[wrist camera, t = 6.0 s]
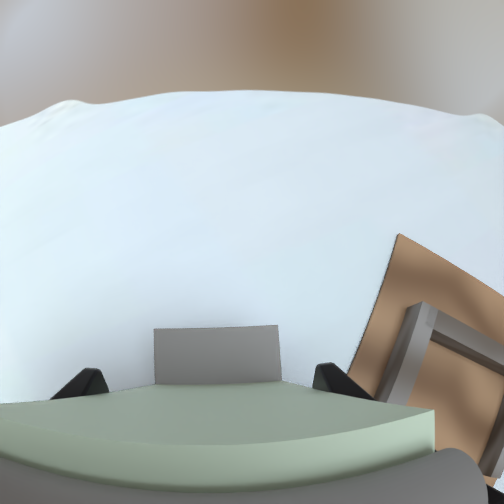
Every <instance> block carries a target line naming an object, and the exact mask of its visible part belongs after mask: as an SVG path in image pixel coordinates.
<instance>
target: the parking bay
mask: <svg viewBox="0 0 504 504" xmlns="http://www.w3.org/2000/svg"><path fill="white" fill-rule="evenodd" d="M347 375H348V376H349V377H350V378H351V379H352V380H354V381H355V382H356V383H357V384H358V385H359V386H360V387H362V388H363V389H364V390H365V391H366V392H367V393H369V394H370V395H371V396H372V397H373V398H374V399H376V400H377V401H378V402H384V403H390V404H396V405H403V406H409V407H417V408H424V409H432V410H434V413H435V450H437V451H439V450H442V449H445V448H456V449H459V450H461V451H463V452H465V453H466V454H468V455H469V456H470V457H471V458H472V459H473V460H474V461H475V463H476V464H477V465H478V467H479V469H480V470H481V472H482V474H483V477H484V479H485V482H486V484H488V485H489V486H491V487H493V486H494V484H495V482H496V480H497V478H500V477H501V475H502V472H503V470H504V296H502V295H501V294H499V293H498V292H496V291H495V290H493V289H492V288H490V287H489V286H487V285H485V284H484V283H482V282H481V281H479V280H478V279H476V278H475V277H473V276H471V275H470V274H468V273H467V272H465V271H463V270H462V269H460V268H458V267H457V266H455V265H454V264H452V263H450V262H449V261H447V260H445V259H444V258H442V257H440V256H439V255H437V254H435V253H433V252H432V251H430V250H428V249H427V248H425V247H423V246H421V245H420V244H418V243H416V242H414V241H413V240H411V239H409V238H407V237H405V236H404V235H402V234H400V233H399V234H398V236H397V239H396V243H395V246H394V249H393V253H392V256H391V259H390V262H389V265H388V268H387V271H386V275H385V278H384V281H383V284H382V286H381V289H380V292H379V295H378V298H377V301H376V304H375V306H374V309H373V312H372V314H371V317H370V320H369V322H368V325H367V328H366V330H365V333H364V335H363V338H362V340H361V343H360V345H359V348H358V350H357V352H356V355H355V357H354V360H353V362H352V364H351V367H350V369H349V371H348V373H347Z"/></svg>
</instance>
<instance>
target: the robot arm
mask: <svg viewBox="0 0 504 504" xmlns="http://www.w3.org/2000/svg"><path fill="white" fill-rule="evenodd" d="M313 389H317V390H321V391H326V392H331V393H336V394H341V395H346V396H351V397H356V398H361V399H367V400H372V401H377V400H376V399H374V398H373V397H372V396H371V395H370V394H369V393H367V392H366V391H365V390H364V389H363V388H362V387H360V386H359V385H358V384H357V383H356V382H355V381H354V380H352V379H351V378H350V377H349V376H348V375H347V374H345V373H344V372H343V371H342V370H341V369H340V368H339V367H337V366H336V365H335V364H334V363H331V362H330V363H321V364H318V365H317V366H316V369H315V375H314V380H313ZM103 393H109V389H108V387H107V384H106V382H105V379H104V377H103V375H102V372H101V371H100V370H99V369H97V368H85V369H83V370H82V371H81V372H80V373H79V374H77V375H76V376H75V377H74V378H73V379H72V380H71V381H70V382H69V383H67V384H66V385H65V386H64V387H63V388H62V389H61V390H60V391H59V392H57V393H56V394H55V395H54V396H53V397H52V398H51V399H50V400H55V399H64V398H72V397H80V396H89V395H96V394H103ZM435 452H437V450H435ZM486 486H487V492H488V504H504V493H502V492H500V491H498V490H496V489H495V488H493V487H491V486H489V485H488V484H486Z"/></svg>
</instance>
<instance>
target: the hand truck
mask: <svg viewBox="0 0 504 504" xmlns="http://www.w3.org/2000/svg"><path fill="white" fill-rule="evenodd" d="M154 365H155V384H154V385H149V386H144V387H138V388H133V389H127V390H121V391H115V392H109V393H103V394H96V395H89V396H80V397H72V398H64V399H55V400H45V401H33V402H20V403H3V404H0V504H488V492H487V486H486V482H485V479H484V477H483V474H482V472H481V470H480V469H479V467H478V465H477V464H476V463H475V461H474V460H473V459H472V458H471V457H470V456H469V455H468V454H466V453H465V452H463V451H461V450H459V449H456V448H445V449H442V450H439V451H437V452H435V413H434V410H432V409H424V408H417V407H409V406H403V405H396V404H390V403H384V402H378V401H372V400H367V399H361V398H356V397H351V396H346V395H341V394H336V393H331V392H326V391H321V390H317V389H313V388H309V387H305V386H301V385H297V384H293V383H289V382H285V381H282V376H281V361H280V347H279V333H278V325H266V326H248V327H224V328H185V329H154Z"/></svg>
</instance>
